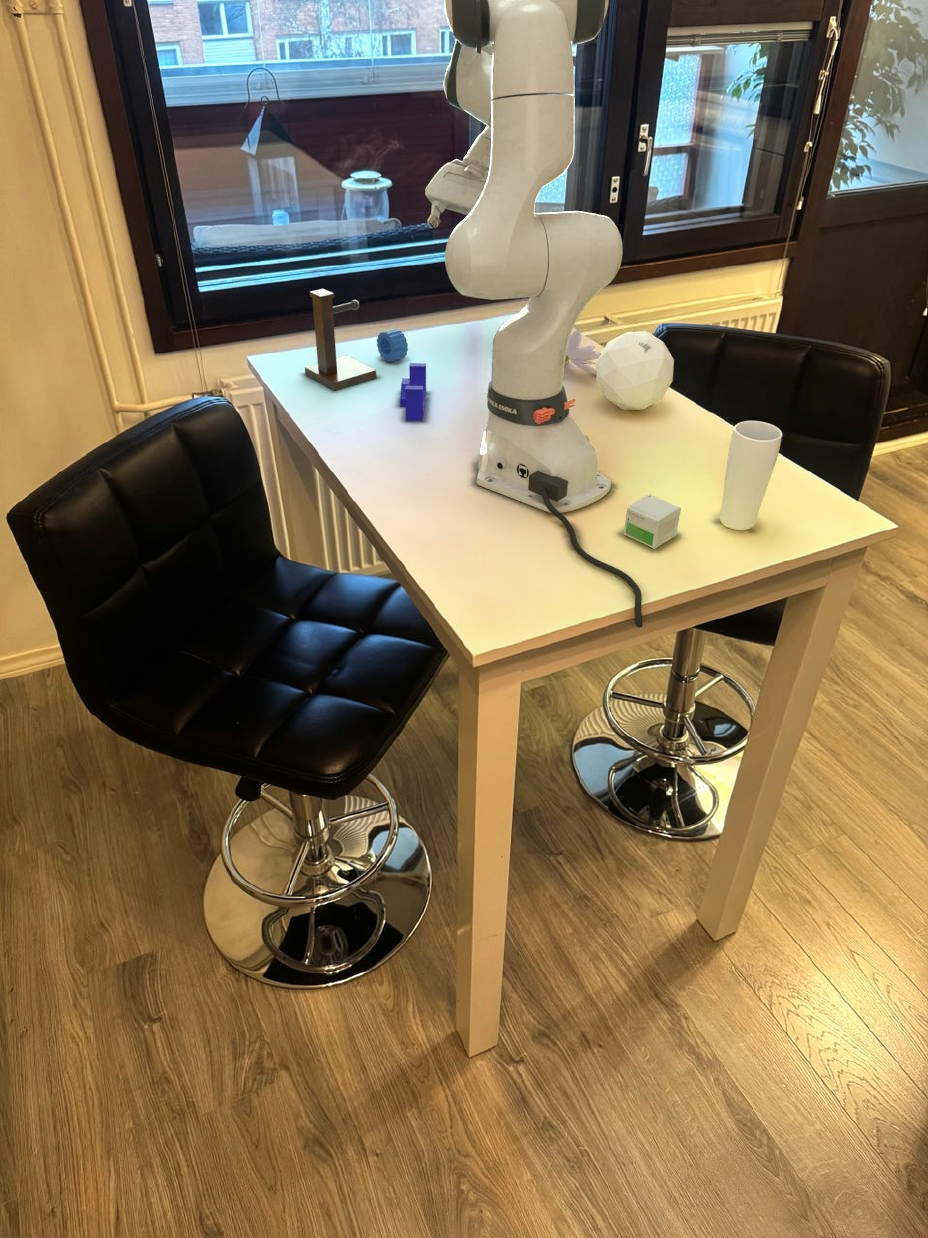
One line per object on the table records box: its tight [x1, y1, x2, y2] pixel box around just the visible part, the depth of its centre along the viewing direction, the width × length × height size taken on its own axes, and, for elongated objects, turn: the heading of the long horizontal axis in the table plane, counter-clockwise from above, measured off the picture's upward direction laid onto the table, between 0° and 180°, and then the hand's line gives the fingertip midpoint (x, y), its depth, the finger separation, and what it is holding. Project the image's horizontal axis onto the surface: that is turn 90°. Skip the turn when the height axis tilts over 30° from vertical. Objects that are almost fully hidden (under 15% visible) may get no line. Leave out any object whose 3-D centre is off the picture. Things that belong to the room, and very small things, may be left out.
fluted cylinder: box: [376, 327, 409, 363], centre depth 183 cm, size 3×6×6 cm, turn 41°
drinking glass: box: [718, 420, 783, 531], centre depth 131 cm, size 7×7×15 cm
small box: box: [623, 494, 682, 550], centre depth 130 cm, size 6×6×5 cm
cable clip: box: [399, 362, 427, 422], centre depth 164 cm, size 12×4×6 cm, turn 179°
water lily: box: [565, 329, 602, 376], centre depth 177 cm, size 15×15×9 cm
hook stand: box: [304, 288, 377, 391], centre depth 172 cm, size 10×10×17 cm
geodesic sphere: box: [595, 330, 675, 411], centre depth 164 cm, size 15×14×14 cm
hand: (447, 230), depth 170 cm, fingers open, 8 cm apart
